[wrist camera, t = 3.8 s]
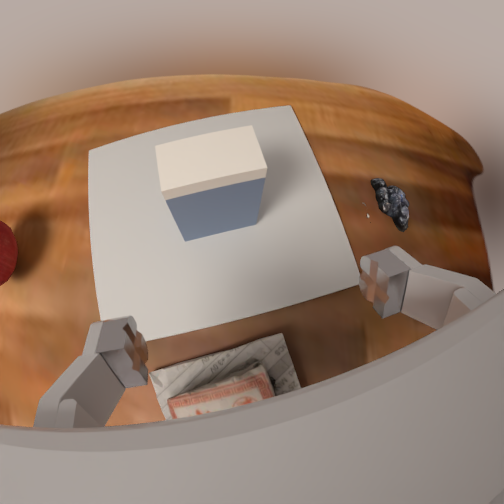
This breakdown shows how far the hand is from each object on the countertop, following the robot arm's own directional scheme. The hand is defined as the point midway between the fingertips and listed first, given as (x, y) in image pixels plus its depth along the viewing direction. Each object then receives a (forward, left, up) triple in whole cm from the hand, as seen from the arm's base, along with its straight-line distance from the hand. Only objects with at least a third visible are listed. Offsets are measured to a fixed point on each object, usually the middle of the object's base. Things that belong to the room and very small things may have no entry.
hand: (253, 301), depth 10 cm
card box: (0, +8, -11) cm, 14 cm away
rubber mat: (-1, +9, -11) cm, 15 cm away
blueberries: (+15, +6, -12) cm, 20 cm away
